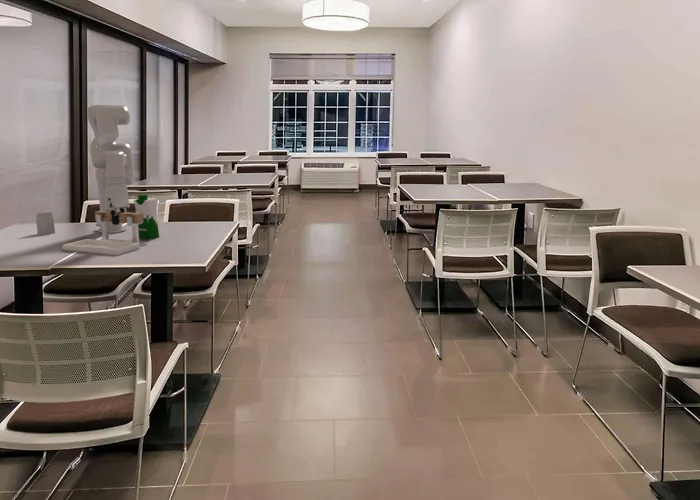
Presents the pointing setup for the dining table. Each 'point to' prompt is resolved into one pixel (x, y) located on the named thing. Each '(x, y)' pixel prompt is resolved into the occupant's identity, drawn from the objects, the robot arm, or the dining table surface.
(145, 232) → the milk carton
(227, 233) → the dining table surface
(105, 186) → the robot arm
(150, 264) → the dining table surface
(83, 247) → the off-white tray
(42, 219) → the grey block
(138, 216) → the walnut rail
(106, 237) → the steel stand
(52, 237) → the dining table surface
